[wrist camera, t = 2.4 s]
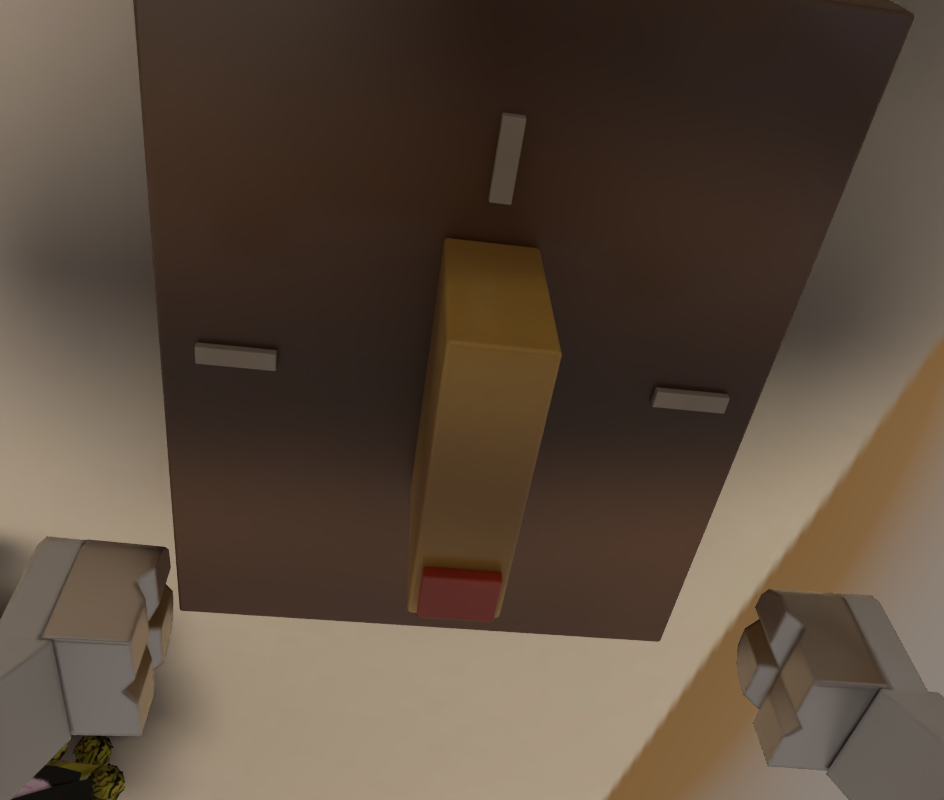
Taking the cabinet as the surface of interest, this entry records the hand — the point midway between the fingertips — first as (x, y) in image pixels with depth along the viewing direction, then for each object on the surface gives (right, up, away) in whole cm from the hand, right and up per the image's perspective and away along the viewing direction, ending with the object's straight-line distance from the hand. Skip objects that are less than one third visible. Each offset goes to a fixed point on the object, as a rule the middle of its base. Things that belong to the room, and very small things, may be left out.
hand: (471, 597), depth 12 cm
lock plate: (0, +5, +6) cm, 8 cm away
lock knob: (0, +3, +4) cm, 5 cm away
